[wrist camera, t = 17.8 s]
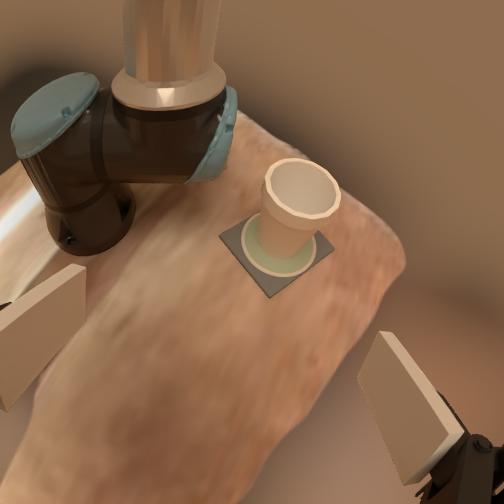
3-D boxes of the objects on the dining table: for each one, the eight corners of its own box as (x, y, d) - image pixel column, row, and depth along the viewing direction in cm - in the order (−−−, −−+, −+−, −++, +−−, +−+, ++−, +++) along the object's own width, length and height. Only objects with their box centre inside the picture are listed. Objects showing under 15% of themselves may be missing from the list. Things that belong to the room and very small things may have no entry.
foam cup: (317, 238, 48) (351, 186, 37) (289, 281, 43) (322, 234, 32) (268, 206, 49) (288, 147, 38) (235, 244, 45) (249, 187, 33)
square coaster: (218, 236, 46) (219, 234, 45) (285, 198, 52) (287, 195, 51) (269, 298, 42) (270, 296, 42) (333, 249, 48) (335, 247, 48)
